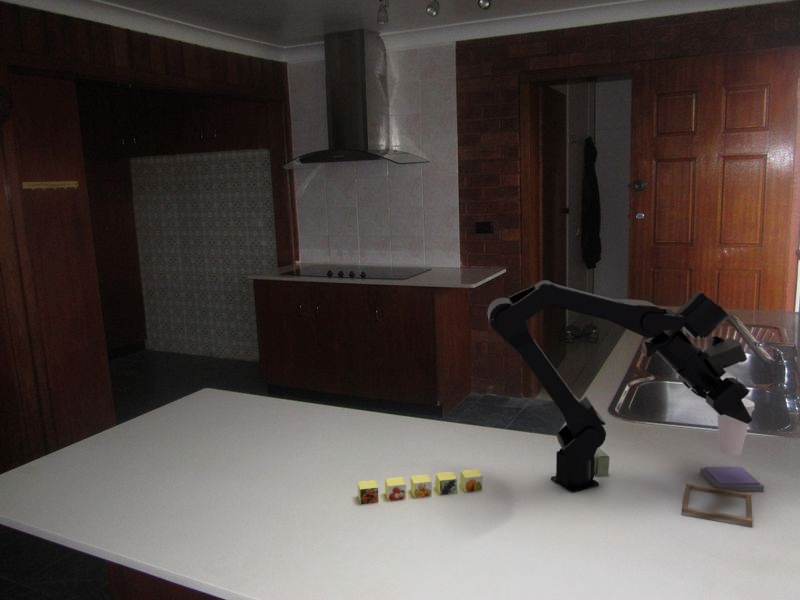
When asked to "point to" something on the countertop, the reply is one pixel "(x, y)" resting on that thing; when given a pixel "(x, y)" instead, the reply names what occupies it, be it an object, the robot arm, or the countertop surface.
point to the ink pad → (731, 479)
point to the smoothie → (733, 431)
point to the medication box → (601, 463)
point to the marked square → (717, 504)
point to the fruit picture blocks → (420, 486)
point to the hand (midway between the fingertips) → (742, 415)
